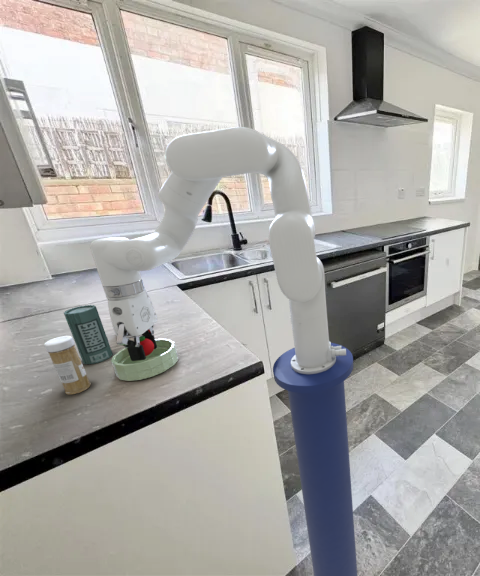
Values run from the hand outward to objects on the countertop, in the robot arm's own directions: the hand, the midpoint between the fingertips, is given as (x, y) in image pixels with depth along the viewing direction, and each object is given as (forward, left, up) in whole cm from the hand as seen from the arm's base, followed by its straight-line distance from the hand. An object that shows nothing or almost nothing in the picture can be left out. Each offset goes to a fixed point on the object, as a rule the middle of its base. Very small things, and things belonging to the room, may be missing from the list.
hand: (144, 353), depth 81 cm
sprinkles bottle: (+12, +7, -4) cm, 15 cm away
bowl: (0, 0, -4) cm, 4 cm away
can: (+17, -8, -4) cm, 19 cm away
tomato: (0, 0, -1) cm, 1 cm away
